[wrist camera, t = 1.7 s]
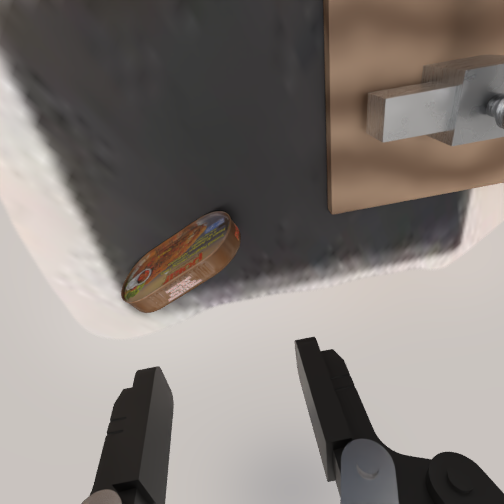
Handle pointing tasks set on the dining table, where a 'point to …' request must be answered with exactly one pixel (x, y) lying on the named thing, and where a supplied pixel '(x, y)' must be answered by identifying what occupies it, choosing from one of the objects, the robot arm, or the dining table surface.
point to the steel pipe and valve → (441, 103)
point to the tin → (182, 262)
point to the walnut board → (393, 76)
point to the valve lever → (496, 109)
